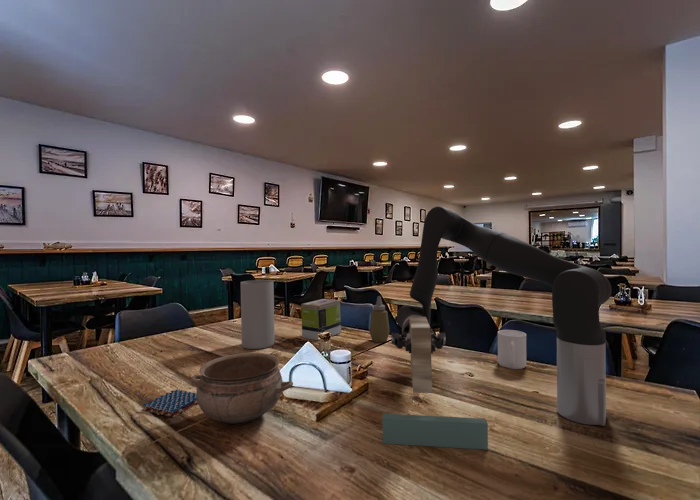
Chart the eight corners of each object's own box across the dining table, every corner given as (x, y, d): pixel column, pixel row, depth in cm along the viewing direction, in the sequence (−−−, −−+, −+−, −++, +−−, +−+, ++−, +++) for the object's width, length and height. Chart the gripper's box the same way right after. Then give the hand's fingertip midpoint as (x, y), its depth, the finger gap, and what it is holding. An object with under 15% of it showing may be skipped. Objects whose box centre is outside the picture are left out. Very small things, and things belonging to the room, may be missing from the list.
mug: (527, 375, 104) (527, 340, 104) (497, 371, 108) (496, 337, 107) (525, 362, 115) (525, 331, 115) (498, 359, 118) (498, 328, 118)
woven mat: (174, 420, 81) (173, 411, 81) (140, 413, 85) (140, 404, 85) (207, 401, 91) (207, 393, 91) (176, 395, 95) (175, 387, 95)
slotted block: (411, 372, 88) (409, 316, 88) (427, 373, 88) (425, 316, 88) (413, 392, 76) (411, 327, 76) (432, 393, 76) (430, 327, 76)
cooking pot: (165, 434, 75) (163, 377, 74) (215, 396, 93) (214, 349, 93) (276, 445, 70) (275, 384, 69) (306, 402, 88) (305, 354, 88)
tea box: (324, 330, 161) (323, 298, 161) (341, 333, 155) (341, 299, 155) (301, 337, 149) (300, 302, 149) (319, 341, 143) (318, 305, 143)
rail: (485, 443, 69) (485, 418, 69) (487, 449, 67) (487, 423, 67) (383, 437, 72) (382, 413, 72) (382, 443, 70) (382, 418, 70)
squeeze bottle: (366, 342, 140) (366, 297, 140) (373, 337, 148) (372, 294, 147) (386, 344, 137) (385, 298, 137) (392, 339, 145) (391, 295, 144)
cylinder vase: (270, 349, 133) (269, 283, 132) (237, 350, 133) (235, 283, 132) (277, 340, 145) (276, 279, 145) (247, 340, 145) (246, 280, 145)
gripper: (389, 317, 97) (388, 332, 80) (442, 316, 95) (453, 332, 78) (390, 344, 97) (389, 365, 80) (443, 344, 95) (453, 366, 78)
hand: (420, 348), depth 79 cm, fingers closed on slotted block, 4 cm apart
